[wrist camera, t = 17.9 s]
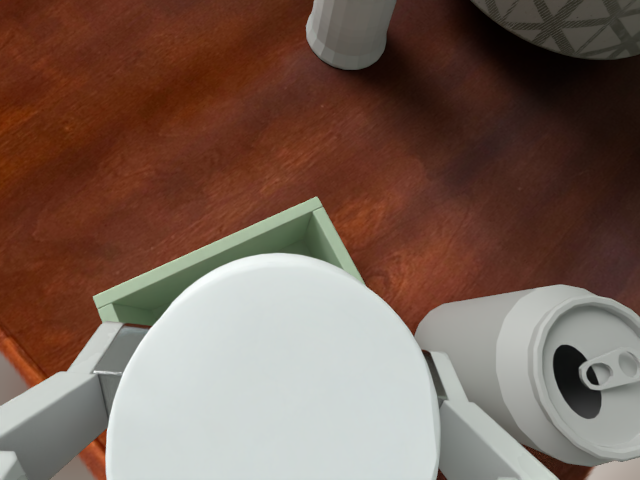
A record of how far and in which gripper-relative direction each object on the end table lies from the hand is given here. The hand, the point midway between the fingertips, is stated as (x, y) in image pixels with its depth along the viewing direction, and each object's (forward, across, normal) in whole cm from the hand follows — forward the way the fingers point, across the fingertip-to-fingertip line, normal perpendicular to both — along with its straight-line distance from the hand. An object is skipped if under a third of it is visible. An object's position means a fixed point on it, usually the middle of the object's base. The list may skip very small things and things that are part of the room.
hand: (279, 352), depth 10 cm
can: (+11, -13, +10) cm, 20 cm away
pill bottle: (+4, 0, +5) cm, 6 cm away
